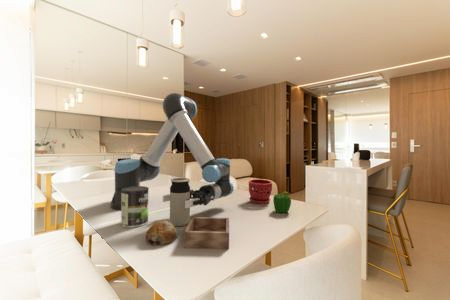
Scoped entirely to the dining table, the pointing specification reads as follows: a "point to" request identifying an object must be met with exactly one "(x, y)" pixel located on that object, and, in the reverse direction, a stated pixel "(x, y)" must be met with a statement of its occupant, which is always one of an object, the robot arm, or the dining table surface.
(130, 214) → the coffee can
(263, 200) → the plant pot
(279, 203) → the bell pepper
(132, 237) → the dining table surface
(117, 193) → the robot arm
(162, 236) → the bread roll
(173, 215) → the travel mug
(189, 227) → the walnut crate
